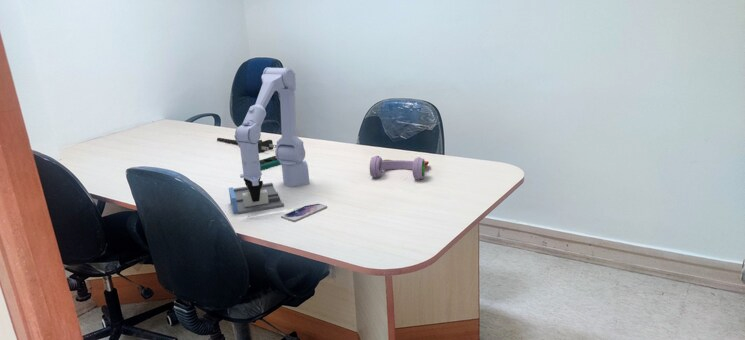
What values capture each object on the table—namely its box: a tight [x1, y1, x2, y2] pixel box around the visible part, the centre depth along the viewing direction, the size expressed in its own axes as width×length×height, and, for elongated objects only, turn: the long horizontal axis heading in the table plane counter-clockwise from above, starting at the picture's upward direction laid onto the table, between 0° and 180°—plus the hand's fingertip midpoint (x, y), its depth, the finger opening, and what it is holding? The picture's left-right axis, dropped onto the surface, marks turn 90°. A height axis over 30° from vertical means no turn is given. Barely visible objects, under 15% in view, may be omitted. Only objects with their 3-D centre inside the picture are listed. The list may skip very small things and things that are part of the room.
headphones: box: [369, 155, 430, 181], centre depth 211 cm, size 20×10×20 cm
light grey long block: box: [242, 190, 281, 207], centre depth 185 cm, size 12×3×4 cm, turn 109°
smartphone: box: [280, 203, 328, 223], centre depth 179 cm, size 7×1×15 cm
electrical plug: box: [216, 137, 277, 154], centre depth 261 cm, size 9×42×5 cm, turn 50°
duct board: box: [228, 182, 285, 215], centre depth 190 cm, size 16×24×6 cm
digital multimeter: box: [259, 155, 282, 172], centre depth 229 cm, size 7×15×3 cm, turn 135°
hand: (255, 199), depth 185 cm, fingers closed on light grey long block, 3 cm apart
